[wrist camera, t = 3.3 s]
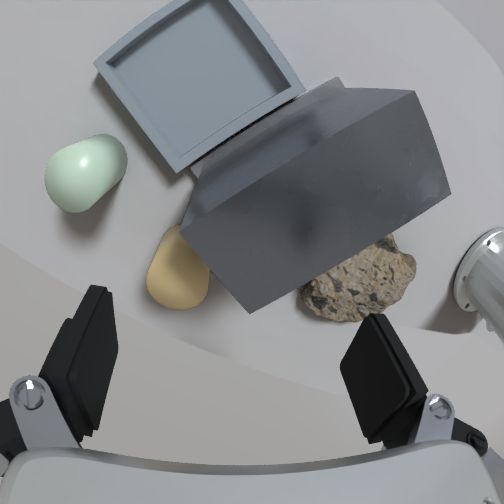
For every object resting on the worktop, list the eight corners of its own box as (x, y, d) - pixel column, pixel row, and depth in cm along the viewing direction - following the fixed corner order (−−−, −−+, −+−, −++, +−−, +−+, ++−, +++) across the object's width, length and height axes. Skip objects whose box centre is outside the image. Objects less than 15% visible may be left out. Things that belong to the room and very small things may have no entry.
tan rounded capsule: (222, 253, 28) (220, 291, 23) (182, 277, 30) (174, 318, 24) (190, 213, 26) (180, 245, 21) (150, 241, 27) (133, 278, 22)
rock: (275, 280, 31) (281, 308, 27) (352, 197, 27) (371, 215, 23) (342, 322, 34) (353, 349, 31) (411, 256, 30) (430, 277, 27)
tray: (300, 90, 22) (306, 90, 20) (180, 167, 24) (176, 173, 23) (220, -18, 17) (219, -26, 15) (102, 64, 19) (92, 62, 17)
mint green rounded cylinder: (138, 165, 24) (113, 185, 19) (100, 197, 25) (71, 225, 20) (105, 122, 22) (73, 133, 17) (70, 158, 23) (34, 177, 18)
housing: (375, 153, 25) (460, 201, 14) (242, 234, 28) (249, 326, 17) (335, 77, 21) (415, 71, 11) (190, 165, 24) (160, 225, 14)
